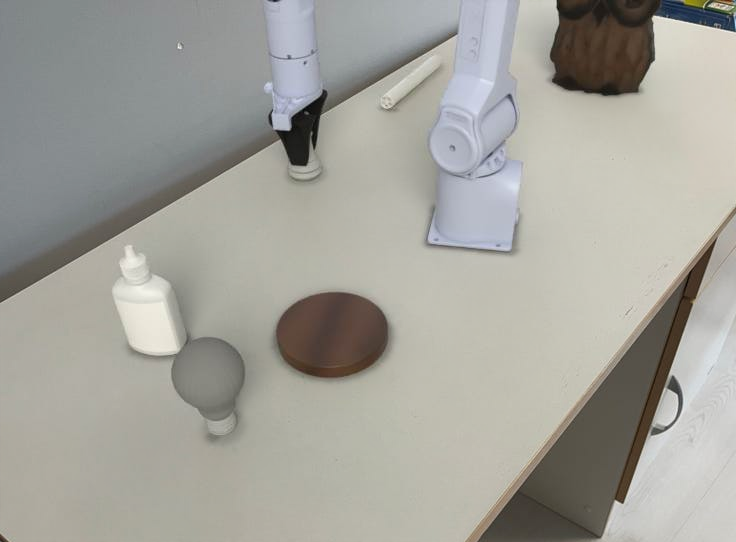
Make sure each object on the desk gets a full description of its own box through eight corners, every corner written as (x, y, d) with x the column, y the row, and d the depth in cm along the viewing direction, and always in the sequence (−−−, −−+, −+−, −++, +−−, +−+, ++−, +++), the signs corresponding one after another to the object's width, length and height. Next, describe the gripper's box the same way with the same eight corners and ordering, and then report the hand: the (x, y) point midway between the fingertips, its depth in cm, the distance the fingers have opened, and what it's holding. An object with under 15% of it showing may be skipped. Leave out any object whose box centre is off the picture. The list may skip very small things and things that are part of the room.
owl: (649, 94, 106) (688, -56, 92) (570, 106, 104) (598, -45, 90) (608, 61, 115) (639, -81, 101) (535, 71, 113) (555, -72, 99)
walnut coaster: (396, 308, 74) (396, 297, 73) (376, 385, 67) (375, 374, 66) (294, 297, 76) (293, 286, 75) (264, 370, 69) (261, 359, 68)
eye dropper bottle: (160, 369, 69) (128, 271, 61) (124, 345, 72) (89, 248, 64) (194, 344, 72) (168, 246, 63) (158, 321, 74) (128, 225, 66)
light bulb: (191, 405, 66) (167, 324, 59) (256, 399, 66) (240, 318, 59) (186, 456, 62) (160, 377, 55) (255, 450, 62) (238, 370, 55)
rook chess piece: (317, 183, 92) (312, 125, 86) (284, 180, 93) (277, 122, 87) (325, 165, 95) (321, 108, 89) (293, 163, 96) (286, 106, 90)
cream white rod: (434, 62, 117) (435, 48, 115) (446, 64, 116) (447, 50, 115) (379, 107, 107) (379, 92, 105) (392, 110, 106) (392, 95, 104)
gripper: (278, 24, 88) (289, 127, 98) (240, 74, 78) (256, 183, 88) (333, 26, 87) (339, 130, 97) (302, 77, 77) (312, 188, 87)
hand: (303, 156), depth 92 cm, fingers closed on rook chess piece, 3 cm apart
